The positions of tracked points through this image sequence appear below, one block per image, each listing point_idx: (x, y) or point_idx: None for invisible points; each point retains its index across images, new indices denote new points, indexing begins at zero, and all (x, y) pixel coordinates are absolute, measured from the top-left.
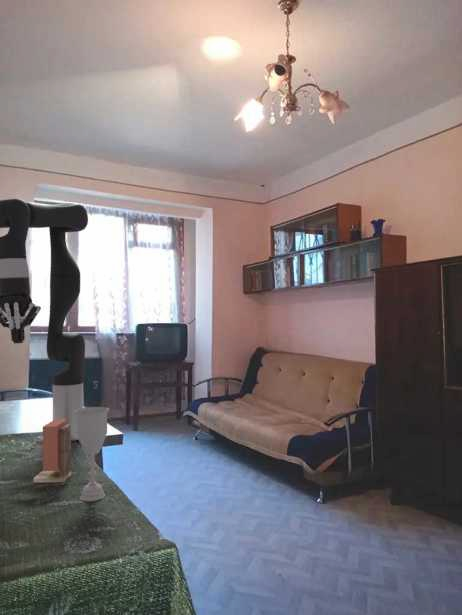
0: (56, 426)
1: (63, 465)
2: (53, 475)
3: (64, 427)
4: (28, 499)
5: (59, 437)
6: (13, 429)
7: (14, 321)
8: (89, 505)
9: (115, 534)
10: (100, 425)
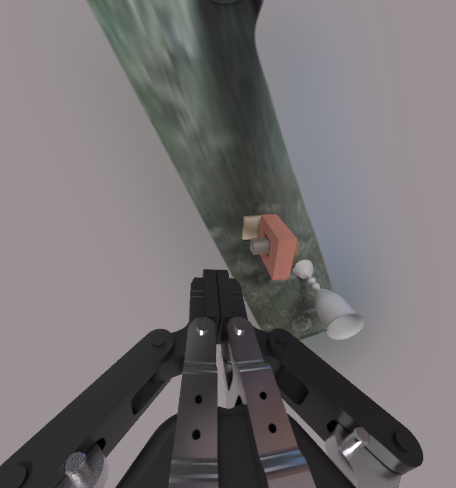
0: (288, 277)
1: None
2: None
3: (294, 259)
4: (251, 273)
5: None
6: None
7: (197, 362)
8: (301, 282)
9: (318, 315)
10: (344, 321)
